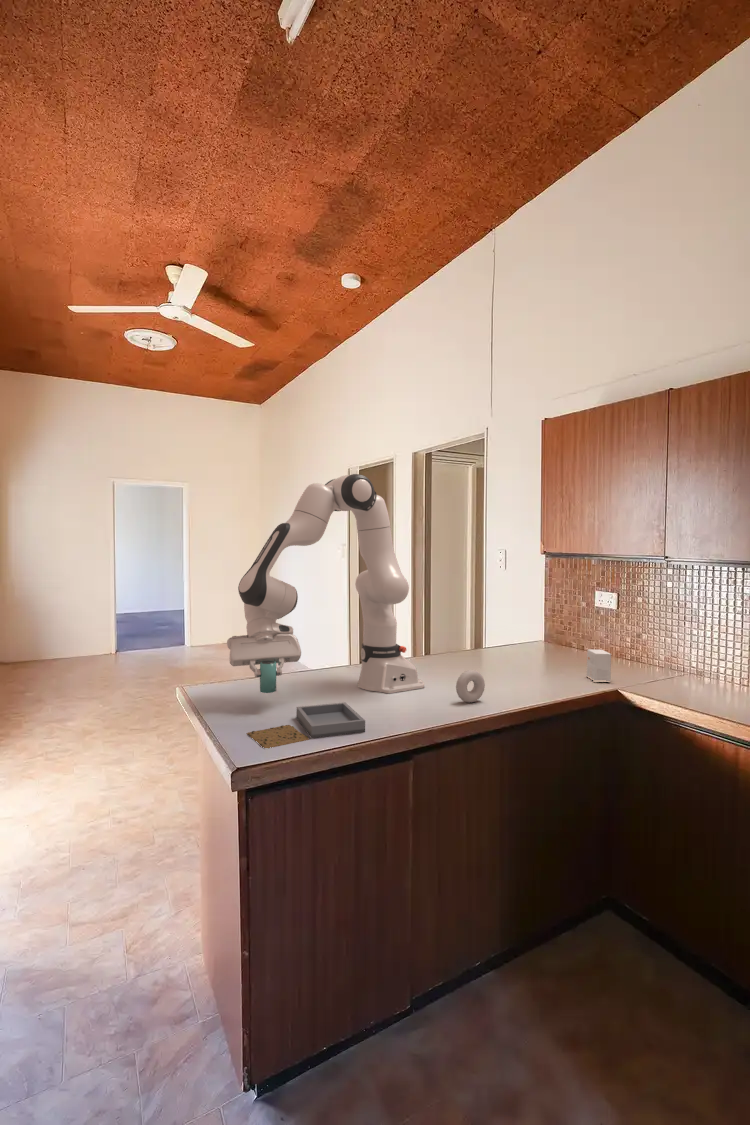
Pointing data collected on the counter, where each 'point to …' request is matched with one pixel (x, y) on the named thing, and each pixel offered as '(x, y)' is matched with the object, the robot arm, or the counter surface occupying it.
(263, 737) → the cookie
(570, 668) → the counter surface
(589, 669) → the small box
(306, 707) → the tray
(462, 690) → the donut
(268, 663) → the cup
